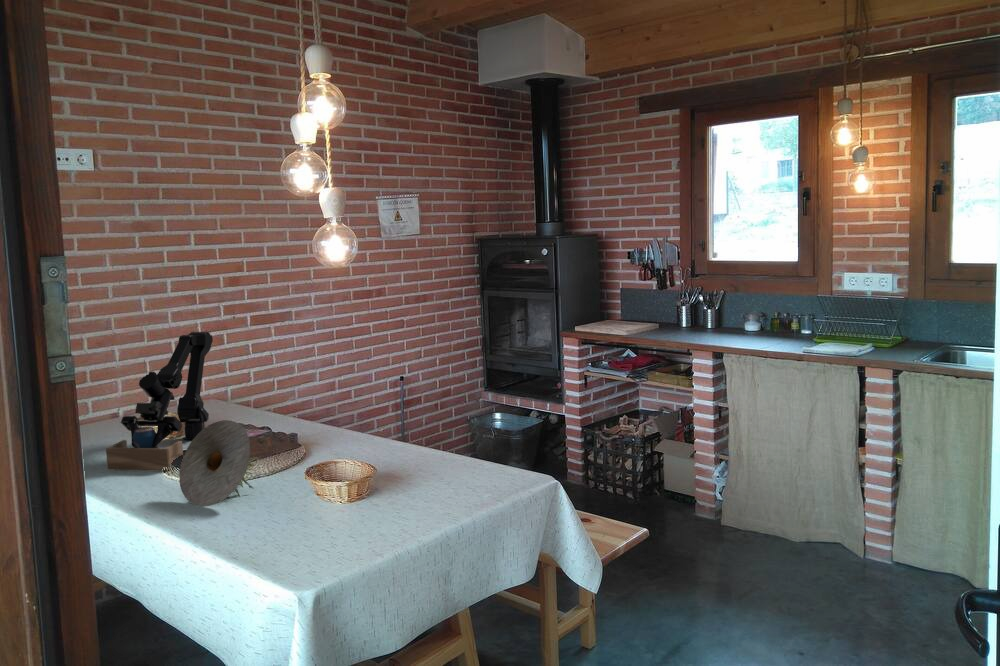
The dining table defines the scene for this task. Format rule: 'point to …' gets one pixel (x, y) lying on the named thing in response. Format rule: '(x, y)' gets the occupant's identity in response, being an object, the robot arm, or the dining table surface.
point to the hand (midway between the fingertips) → (143, 446)
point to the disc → (215, 463)
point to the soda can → (144, 437)
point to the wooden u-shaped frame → (141, 457)
